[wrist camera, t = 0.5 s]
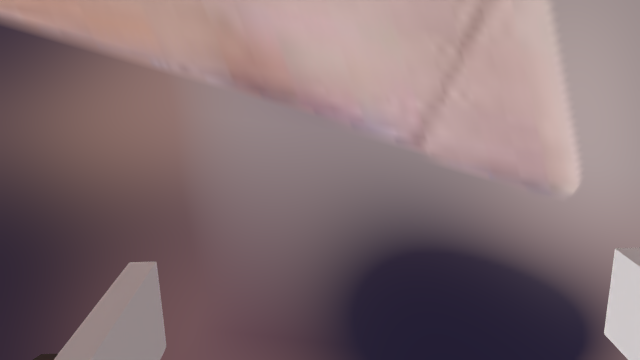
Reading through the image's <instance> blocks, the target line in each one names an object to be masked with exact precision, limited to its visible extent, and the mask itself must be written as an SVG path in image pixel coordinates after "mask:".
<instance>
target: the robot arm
mask: <svg viewBox="0 0 640 360" xmlns="http://www.w3.org/2000/svg"><path fill="white" fill-rule="evenodd" d="M604 334H605V335H606V336H607V337H608V338H609V339H610V341H611V342H612V343H613V344H614V345H615V346H616V347H617V348H618V349H619V350H620V351H621V352H622V353H623V355H624V356H626V358H627V359H628V360H640V248H620V249H619V248H617V249H615V254H614V261H613V269H612V277H611V285H610V292H609V300H608V308H607V315H606V323H605V331H604ZM165 348H166V339H165V331H164V322H163V314H162V305H161V298H160V288H159V280H158V271H157V263H156V262H130V263H129V264H128V265H127V266H126V268H125V269H124V270H123V271H122V273H121V274H120V275H119V277H118V278H117V279H116V280H115V282H114V283H113V284H112V286H111V287H110V288H109V289H108V291H107V292H106V294H105V295H104V296H103V297H102V298H101V300H100V301H99V302H98V304H97V305H96V306H95V308H94V309H93V310H92V311H91V313H90V314H89V315H88V316H87V318H86V319H85V320H84V322H83V323H82V324H81V326H80V327H79V328H78V329H77V330H76V332H75V333H74V334H73V336H72V337H71V338H70V340H69V341H68V342H67V343H66V345H65V346H64V347H63V349H62V350H61V351H60V352H59V354H41V355H39V356H38V357H37V358H35V359H34V360H160V359H161V357H162V355H163V352H164V350H165Z"/></svg>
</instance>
